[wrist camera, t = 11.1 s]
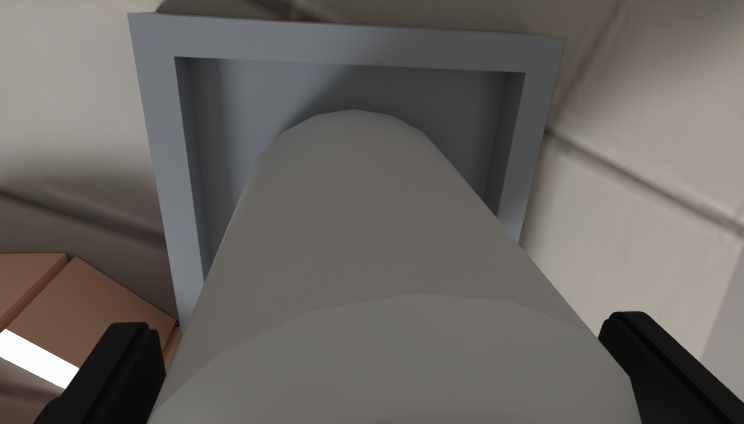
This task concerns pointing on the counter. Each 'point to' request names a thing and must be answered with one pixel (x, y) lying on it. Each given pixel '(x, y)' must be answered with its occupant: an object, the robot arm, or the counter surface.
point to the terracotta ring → (66, 314)
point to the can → (380, 300)
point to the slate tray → (326, 109)
